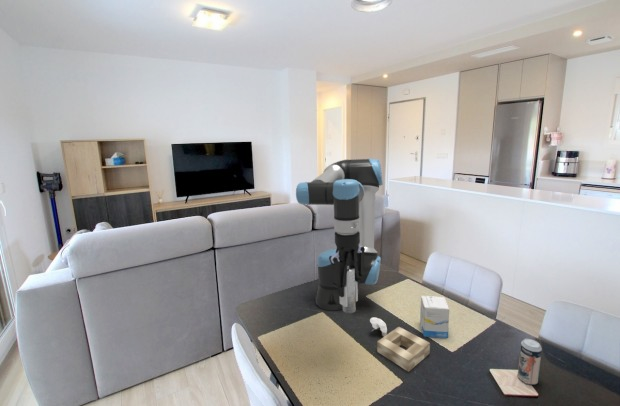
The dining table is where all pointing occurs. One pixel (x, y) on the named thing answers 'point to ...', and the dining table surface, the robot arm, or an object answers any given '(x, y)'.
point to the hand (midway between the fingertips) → (348, 302)
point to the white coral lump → (379, 325)
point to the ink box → (434, 316)
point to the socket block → (398, 355)
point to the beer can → (529, 361)
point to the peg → (350, 290)
